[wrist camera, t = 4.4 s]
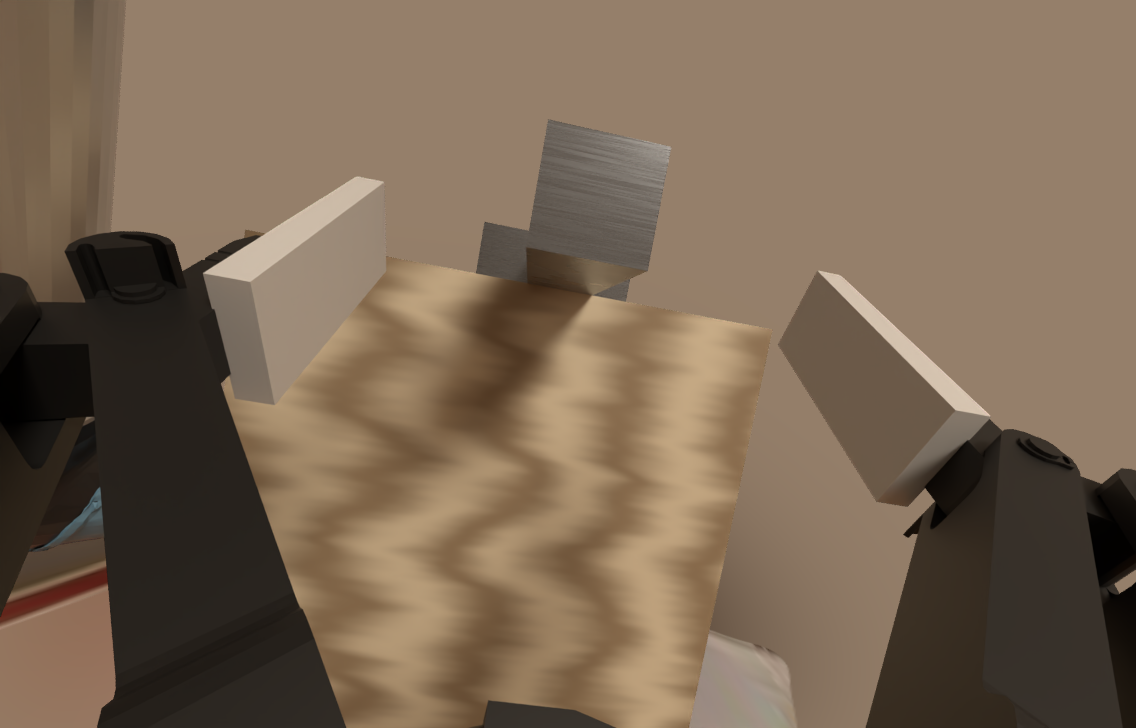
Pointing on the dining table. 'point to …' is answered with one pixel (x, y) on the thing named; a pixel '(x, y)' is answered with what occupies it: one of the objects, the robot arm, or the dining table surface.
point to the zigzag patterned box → (508, 497)
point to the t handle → (584, 215)
